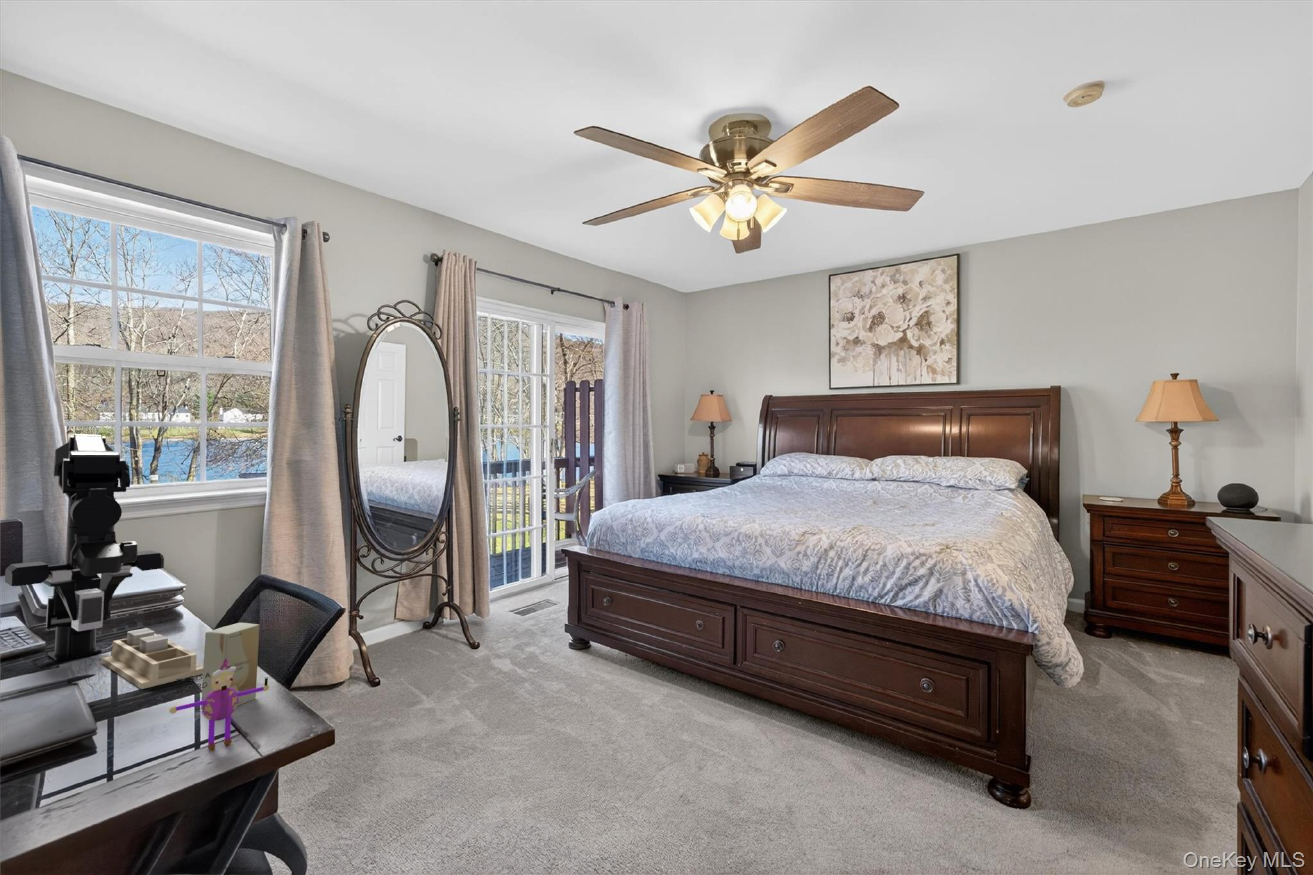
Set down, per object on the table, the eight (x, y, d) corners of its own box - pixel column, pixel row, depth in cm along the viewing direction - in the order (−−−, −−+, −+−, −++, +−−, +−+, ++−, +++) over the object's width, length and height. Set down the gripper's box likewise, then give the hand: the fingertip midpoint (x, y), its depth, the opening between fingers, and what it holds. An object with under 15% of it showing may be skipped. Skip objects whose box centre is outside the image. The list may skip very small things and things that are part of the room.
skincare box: (222, 714, 90) (225, 634, 91) (199, 711, 91) (202, 632, 92) (258, 697, 97) (261, 622, 97) (236, 694, 98) (239, 621, 98)
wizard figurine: (168, 764, 76) (172, 671, 76) (165, 755, 78) (169, 665, 78) (269, 735, 84) (273, 651, 84) (264, 728, 86) (267, 646, 86)
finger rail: (102, 662, 111) (103, 633, 111) (161, 650, 118) (162, 622, 118) (141, 689, 99) (143, 656, 99) (204, 673, 107) (206, 642, 107)
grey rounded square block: (103, 627, 99) (104, 592, 99) (78, 631, 96) (80, 595, 96) (95, 622, 101) (96, 588, 101) (71, 627, 99) (73, 591, 99)
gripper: (22, 535, 87) (17, 641, 87) (177, 524, 103) (173, 613, 102) (6, 529, 93) (1, 627, 93) (154, 519, 109) (151, 603, 108)
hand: (87, 617), depth 99 cm, fingers closed on grey rounded square block, 3 cm apart
